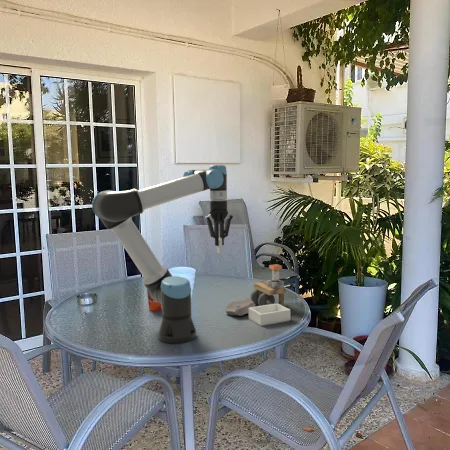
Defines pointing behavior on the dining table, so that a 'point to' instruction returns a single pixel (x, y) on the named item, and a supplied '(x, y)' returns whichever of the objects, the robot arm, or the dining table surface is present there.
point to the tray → (269, 314)
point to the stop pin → (275, 272)
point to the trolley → (268, 292)
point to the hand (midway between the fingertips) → (219, 252)
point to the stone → (239, 307)
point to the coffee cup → (153, 304)
